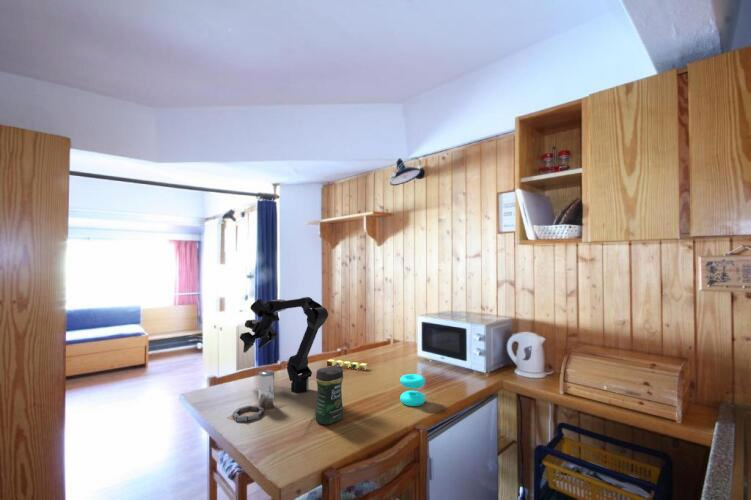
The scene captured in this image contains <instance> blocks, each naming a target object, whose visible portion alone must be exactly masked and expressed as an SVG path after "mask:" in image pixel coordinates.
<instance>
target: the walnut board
mask: <svg viewBox="0 0 751 500" xmlns="http://www.w3.org/2000/svg"><path fill="white" fill-rule="evenodd" d="M287 405H288V404H287V403H282V402H278V401H275V400H274V407H273V408H271V409H268V410H264V414H263V415H262V416H261V417H260V418H259V419H256V420H253V421H249V422H240V423H241V424H245V425H248V426H249V424H252V423H254V422H256V421H258V420H260V419H262V418H263V417H266V416H268V415H270V414H272V413H274V412H275V411H277V410H279V409H282V408H283V407H286V406H287ZM252 406H258V403H256V404H254V405H252ZM257 413H258V411H247V412H243V413H240V414H239V416H250V415H253V414H257ZM226 419H228V420H232V421H234V422H236V421H235V420H234V419H233V418H232V414H231V415H229V416H227V417H226Z"/></svg>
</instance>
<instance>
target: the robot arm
mask: <svg viewBox="0 0 751 500" xmlns="http://www.w3.org/2000/svg"><path fill="white" fill-rule="evenodd" d="M300 307H301V308H302V311H303V314H304V315H305V316H306V324H307V325H306V326H307V327H306V328H305V331H304V334H303V336H302V339H301V342H300V343H299V344H300V345H299V346H298V349H297V352H296V354H295V355H291V356H289V359H288V361H287V363H286V370H287V374H288V379H289V381H290V382H291V383H290V385H291V387H290V392H292V393H294V394H295V393H296V394H303V393H307V392H309V390H310V389H309V380H310V379H309V378H311V377H312V375H313V371H312V370H311V369H310V367H309V366H308V364H309V360H308V359H309V358H308V357H309V354H310V352H311V349H312V347H313V344H314V341H315V339H316V336H317V333H318V331H319V329H320V328H321V327H322V326H323V325H324V324H325V322H326V320H327V319H328V318H329V317H328V316H329V312H328V310H327V308H326V307H324V306H323V305H321V304H320V303H319V302H317V301H315V300H314V299H313V298H312V297H309V296H304V297H301V298H294V299H287V300H286V299H279V298H278V299H272V300H271V299H270V300H267V301H266V302H264V300H262V298H258V299H256V301H254V302H253V303H252V304H251V305H250V307H249V308H250V310H251V311H252V312H253V313H254V314H255V315H256V316H257V317H258V318H260V320H257V319H247V320H246V321H245V323H244V327H245V328H247V329H251V332H252V333H253V334H252V333H251V332H250V331H247V332H243V333H240V336H239V339H240V340H241V341H242V342H243V353H245V354H246V353H247V352H248V351H249V350H250V349H251V348H252V347H253V346H254V344H255V343H256V340H259V339H260V342H259V344H258V346H257V347H258V349H261V348H263V347H264V346H265V345H268V344H269V343H270V342H271V341H273V340H274V339H276V338H277V337H278V332H277V331H276V330H275V329H274V328H273V327H272V326H273V324H274V323H275V322H278V321H280V317H279V314H276V313H280V312H283V311H285V310H288V309H294V308H300Z"/></svg>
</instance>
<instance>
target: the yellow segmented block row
mask: <svg viewBox="0 0 751 500" xmlns="http://www.w3.org/2000/svg"><path fill="white" fill-rule="evenodd" d="M333 365H337V366H340V367H341V366H343V367H344V368H343V367H342V368H343V369H345V368H349V367H351V368H353V369H357V368H359V369H360V370H366V369H367V370H368V363H364V362H361V363H360V362H356V361H355V362H354V361H353V362H352V361H344V360H339V359H337V360H336V359H328V360H326V366H327V367H329V366H333ZM351 368H349V369H351ZM353 369H352V370H353ZM359 369H357V370H359ZM360 370H359V371H360ZM367 370H366V371H367Z"/></svg>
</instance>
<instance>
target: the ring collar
mask: <svg viewBox="0 0 751 500" xmlns="http://www.w3.org/2000/svg"><path fill="white" fill-rule="evenodd" d="M247 411H258V413H257V414H253V415H250V416H239V414H240V413H243V412H247ZM263 414H264V409H263V408H262V407H261V406H253V405H251V404H250V405H246V406H243V407H238V408H236V410H234V411H233V412H232V414H231V415H232V418H233V419H234V420H235V421H234V420H233V421H234V422H238V423H241V422H249V421H253V420H256V419H258V420H260V419H261V418H260V417H261V416H262V415H263ZM259 418H260V419H259ZM256 421H257V420H256Z"/></svg>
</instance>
